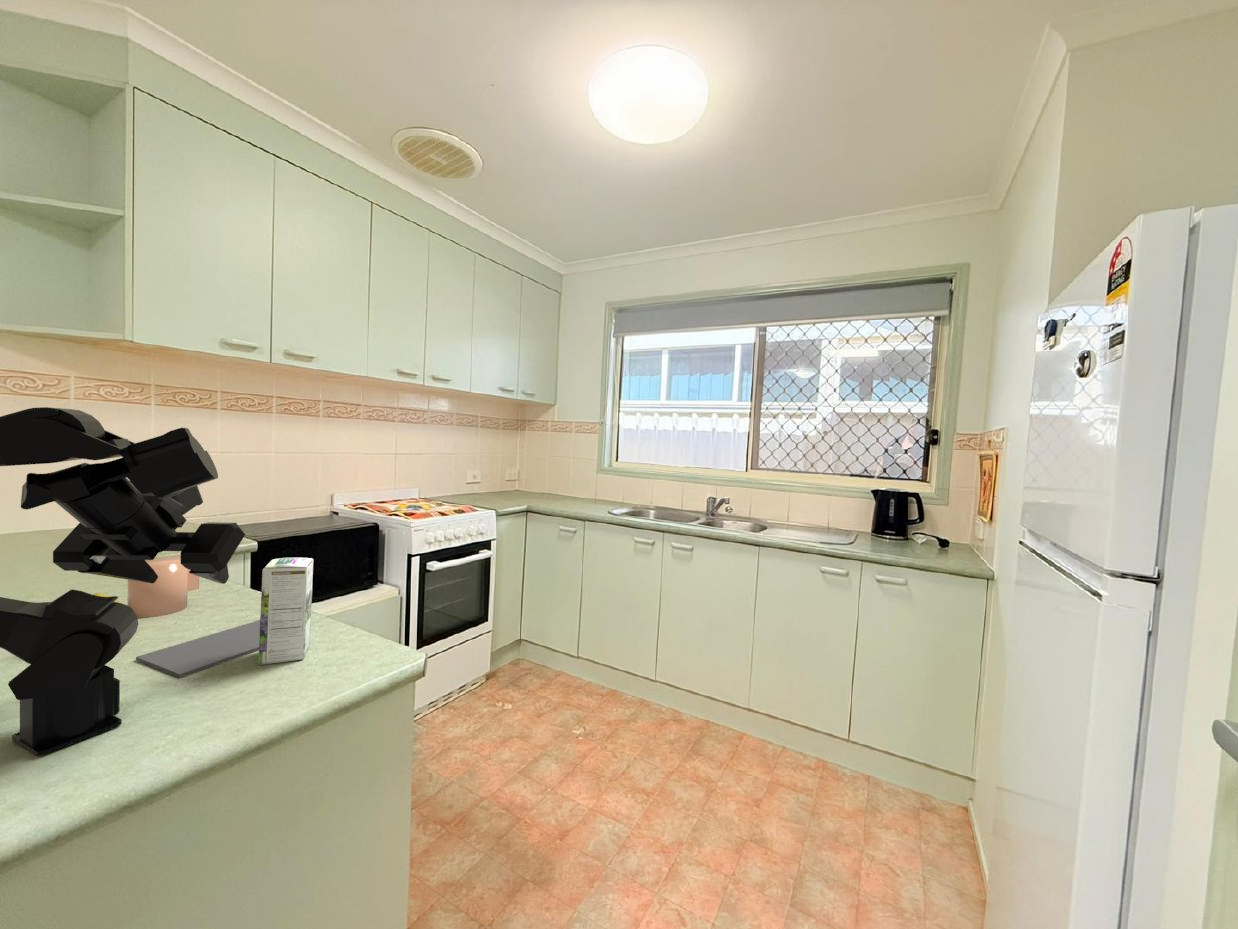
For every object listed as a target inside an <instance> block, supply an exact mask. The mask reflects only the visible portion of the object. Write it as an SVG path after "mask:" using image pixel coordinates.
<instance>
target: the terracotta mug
mask: <svg viewBox="0 0 1238 929" xmlns="http://www.w3.org/2000/svg"><path fill="white" fill-rule="evenodd" d="M145 561H146V562H147V563H148V564H149V565H150V566H151V567H152V569H153V570H154V571H155V572H156V574H157V575H158V579H157V580H156V581H155V583H145V582H139V581H133V580H127V606H129V607H131V608H132V609H133V611H134V613H135V614H136V616H137V618H138V619H147V618H156V617H163V616H168V615H172V614H174V613H179V612H182V611H184V610H185V609H187V608H188V599H189V598H188V596H189V595H188V592H191V591H195V590H199V589H200V577H199V576H196V575H193V574H190V573H189V572H190V569H187V568H185V567H184V566H183V565H182V564H181V556H159V557H155V558H154V559H153V560H145Z"/></svg>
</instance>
